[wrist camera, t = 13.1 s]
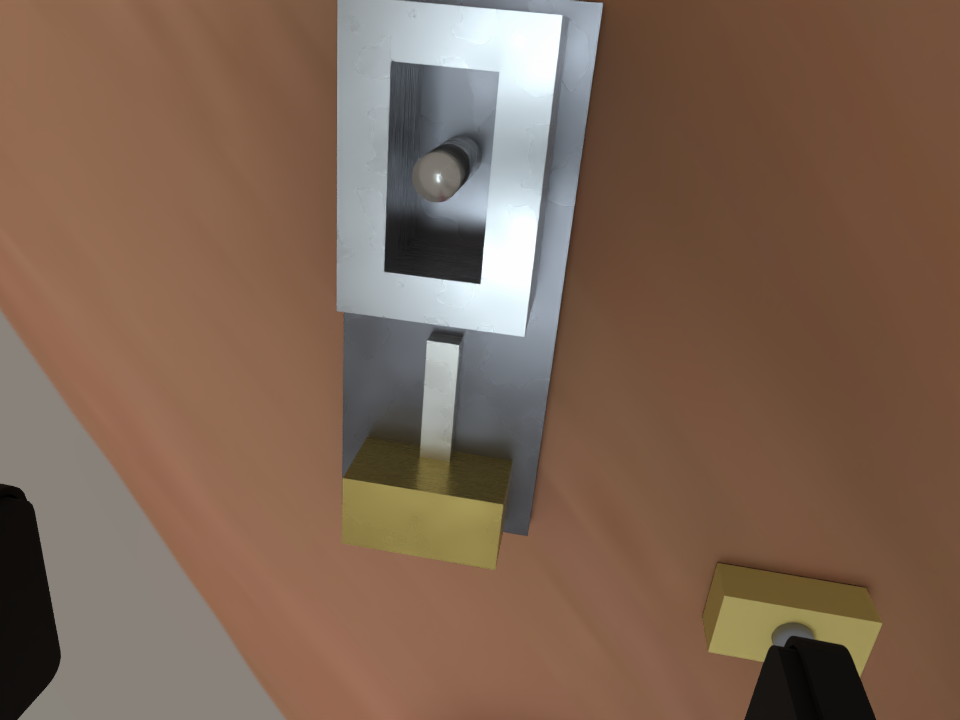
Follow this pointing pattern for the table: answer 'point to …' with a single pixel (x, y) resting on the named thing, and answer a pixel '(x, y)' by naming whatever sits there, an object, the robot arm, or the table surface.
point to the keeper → (462, 336)
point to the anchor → (785, 613)
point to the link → (395, 150)
